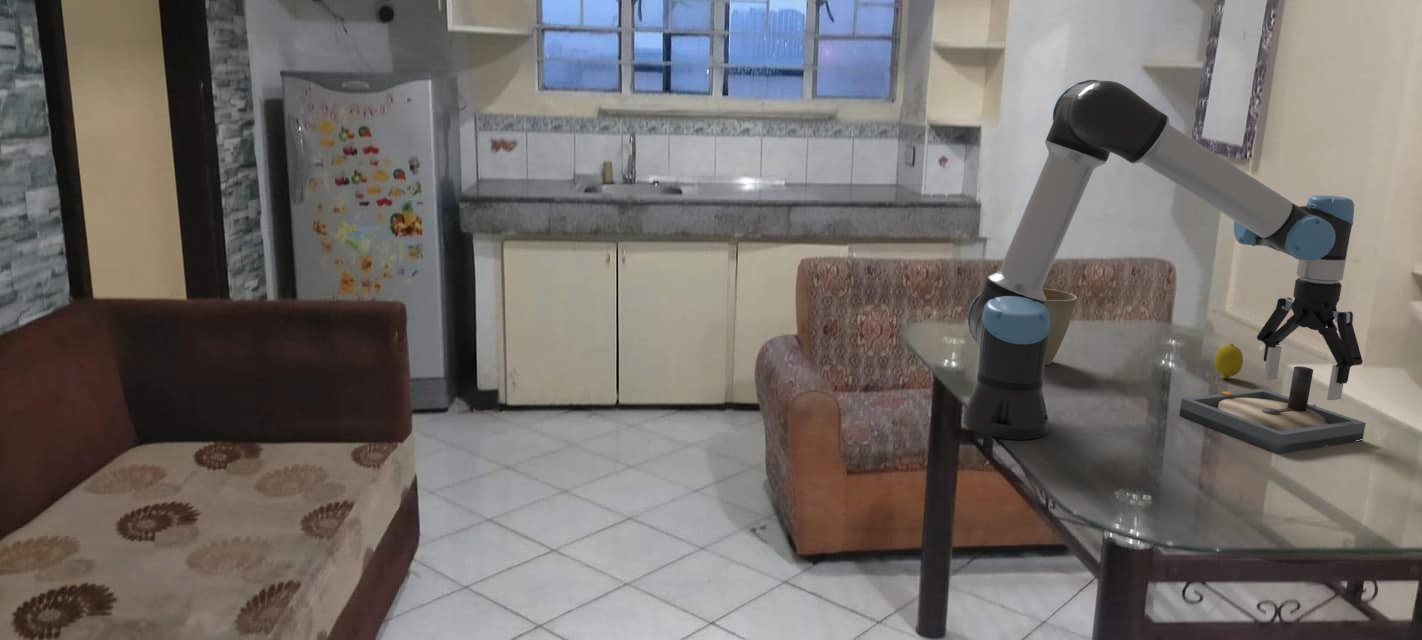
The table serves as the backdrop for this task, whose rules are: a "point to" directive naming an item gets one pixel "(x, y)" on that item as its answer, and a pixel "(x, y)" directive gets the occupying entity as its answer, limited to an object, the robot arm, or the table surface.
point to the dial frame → (1331, 433)
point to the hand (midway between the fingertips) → (1300, 389)
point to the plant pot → (1057, 318)
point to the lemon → (1229, 360)
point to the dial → (1279, 406)
